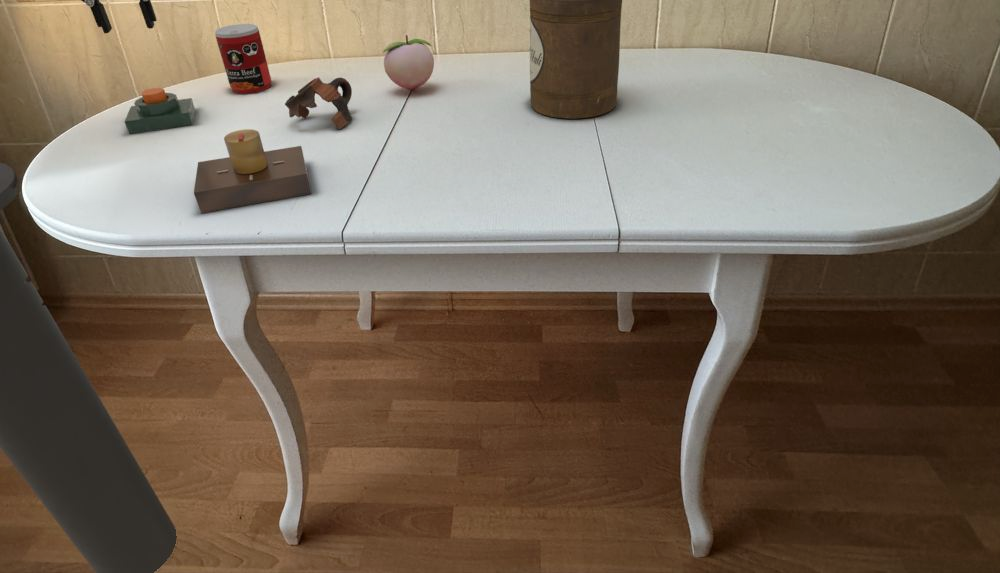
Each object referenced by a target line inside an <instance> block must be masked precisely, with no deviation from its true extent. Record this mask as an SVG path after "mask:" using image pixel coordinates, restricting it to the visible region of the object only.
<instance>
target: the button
mask: <svg viewBox="0 0 1000 573" xmlns="http://www.w3.org/2000/svg"><path fill="white" fill-rule="evenodd" d="M166 93H167V92H166V90H165V88H162V87H153V88H148V89H145V90H143V91H141V94H140V95H141V97H143V100H144V102H145V103H157V102H161V101H164V100H166V99H167V96H166Z"/></svg>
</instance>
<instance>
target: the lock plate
mask: <svg viewBox="0 0 1000 573" xmlns="http://www.w3.org/2000/svg"><path fill="white" fill-rule="evenodd" d="M264 153H265V156H266V160H267V164H268V165H267V167H266V168H265V169H263V170H261V171H259V172H255V173H251V174H239V173H236V172H235V171H234V170H233V166H232V163H231V160H230V157H229V156H228V157H222V158H215V159H209V160H203V161H198V162H197V166H196V175H195V182H194V188H193V195H194V197H195V198H194V199H195V200H196V203H197V205H198V209H199V211H200V213H201V214H205V213H212V212H216V211H223V210H227V209H232V208H238V207H240V208H241V207H244V206H249V205H256V204H262V203H268V202H274V201H279V200H285V199H290V198H296V197H302V196H307V195H312V188H311V184H310V183H311V182H310V179H309V178H310V177H309V172H308V169H307V165H306V164H307V163H306V160H305V155H304V150H303V148H302V145H297V146H291V147H285V148H279V149H272V150H271V149H270V150H266V151H265V150H264Z"/></svg>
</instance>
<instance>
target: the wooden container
mask: <svg viewBox="0 0 1000 573" xmlns="http://www.w3.org/2000/svg"><path fill="white" fill-rule="evenodd" d="M622 4H623V0H529V87H530V89H529V90H530V92H529V93H530V106H531V108H532V110H534V111H535V112H537V113H538V114H541V115H543V116H546V117H547V116H548V117H550V118H551V117H552V118H557V119H568V120H570V119H571V120H572V119H573V120H574V119H575V120H576V119H588V118H593V117H598V116H601V115H604V114H607V113H609V112H611V111H612V110H613V109H614V108H616V105H617V99H618V84H619V70H620V52H621V51H620V50H621V49H620V46H621V23H622V22H621V21H622V9H623V7H622V6H623V5H622Z"/></svg>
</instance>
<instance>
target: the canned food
mask: <svg viewBox="0 0 1000 573" xmlns="http://www.w3.org/2000/svg"><path fill="white" fill-rule="evenodd" d="M214 35H215V39H216V43H217V46H218V50H219V54H220V56H221V59H222V64H223V67H224V70H225V73H226V77H227V81H228V82H229V83H228V84H229V86H230V89H231V91H232V92H233V93H235V94H240V95H246V94H255V93H260V92H263V91H265V90H267V89H269V88H270V87H271V86H272V77H271V74H270V69H269V65H268V61H267V58H266V52H265V49H264V44H263V41H262V37H261V33H260V29H259V26H258V25H257V24H252V23H240V24H239V23H238V24H231V25H226V26H222V27H220V28H217V29H216V30H214Z"/></svg>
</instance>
